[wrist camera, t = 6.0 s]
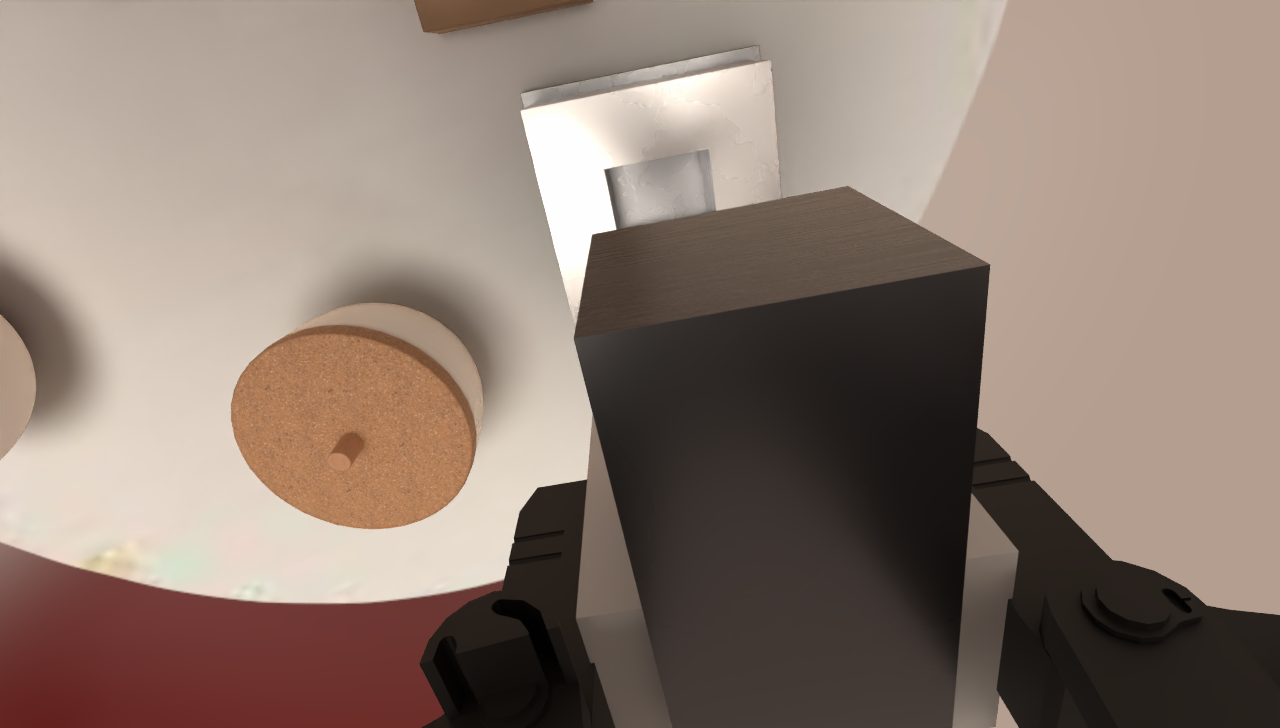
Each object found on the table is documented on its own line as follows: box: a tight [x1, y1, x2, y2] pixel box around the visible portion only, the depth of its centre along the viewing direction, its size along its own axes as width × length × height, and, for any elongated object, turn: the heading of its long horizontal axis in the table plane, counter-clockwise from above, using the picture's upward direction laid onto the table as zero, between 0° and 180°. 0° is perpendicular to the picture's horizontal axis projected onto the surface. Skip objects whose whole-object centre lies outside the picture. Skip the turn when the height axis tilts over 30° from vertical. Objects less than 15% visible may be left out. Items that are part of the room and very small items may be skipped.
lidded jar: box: [231, 303, 483, 529], centre depth 30 cm, size 11×11×9 cm
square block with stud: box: [520, 45, 781, 329], centre depth 29 cm, size 15×11×5 cm
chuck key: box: [574, 186, 990, 728], centre depth 11 cm, size 9×3×12 cm, turn 10°
